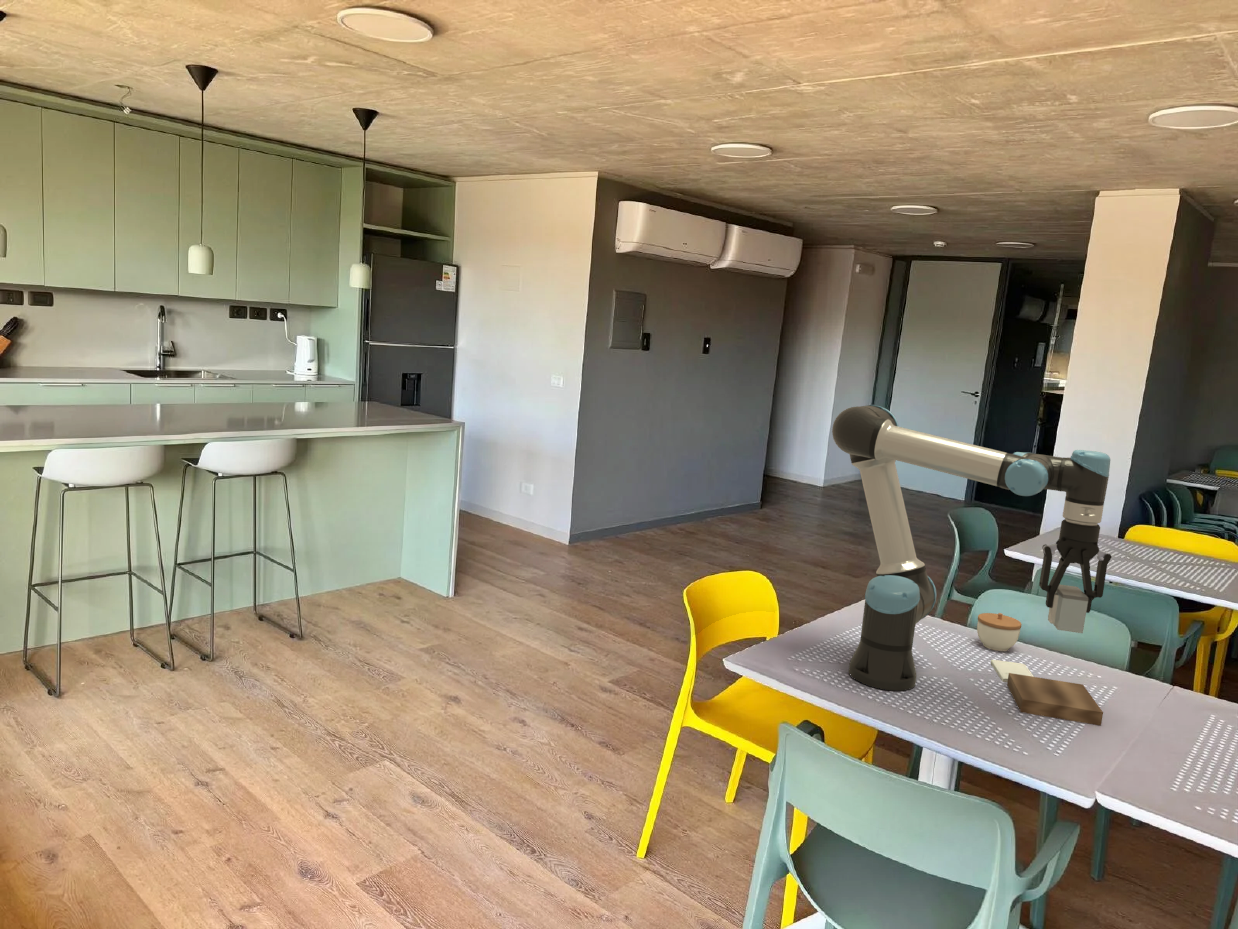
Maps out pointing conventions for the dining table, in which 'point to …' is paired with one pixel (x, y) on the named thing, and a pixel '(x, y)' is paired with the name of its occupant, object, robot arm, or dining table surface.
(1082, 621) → the block
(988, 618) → the lidded jar
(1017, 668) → the external hard drive
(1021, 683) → the walnut stand
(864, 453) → the robot arm
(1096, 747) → the dining table surface
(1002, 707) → the dining table surface
